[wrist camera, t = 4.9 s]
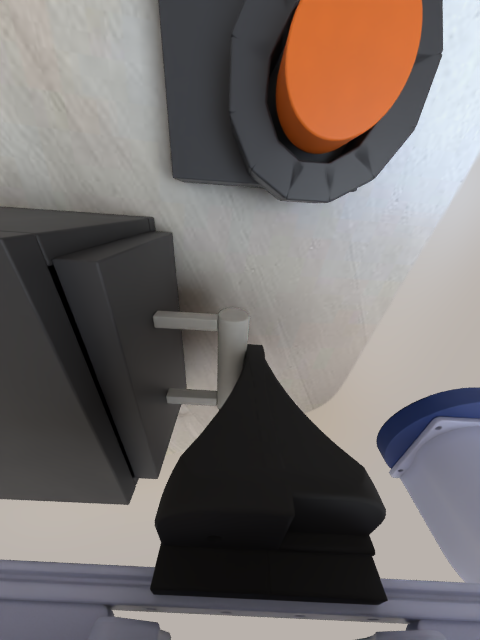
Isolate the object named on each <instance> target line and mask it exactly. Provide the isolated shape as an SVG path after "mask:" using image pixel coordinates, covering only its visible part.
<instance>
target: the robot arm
mask: <svg viewBox="0 0 480 640" xmlns="http://www.w3.org/2000/svg"><path fill="white" fill-rule="evenodd" d="M389 473H390V475H391V477H393V478H400V479H401V481H402V482H403V484H404V486H405V487H406V489H407V491H408V493H409V494H410V496H411V498H412V499H413V502H414V503H415V505H416V507H417V508H418V510H419V512H420V514H421V515H422V517H423V519H424V521H425V522H426V524H427V526H428V528H429V529H430V531H431V533H432V535H433V536H434V538H435V540H436V542H437V543H438V545H439V547H440V549H441V550H442V552H443V554H444V555H445V557H446V558H447V560H448V562H449V563H450V564H451V566H452V567H453V568H454V570H455V571H456V572H457V573H458V575H459V576H460V577H461V578H462V579H463V580H464V581H465V583H460V582H459V583H458V582H439V581H420V580H400V579H399V580H398V579H380V577H379V574H378V571H377V569H376V566H375V563H374V560H373V558H372V556H374V555H375V549H374V547H373V544H372V541H371V539H370V536H369V534H370V533H372V532H373V531H374V530H375V529H376V528H377V527H378V526H379V525H380V524H381V523H382V521H383V520H384V519H385V516H386V509H385V507H384V505H383V503H382V501H381V498H380V496H379V494H378V492H377V490H376V488H375V486H374V484H373V482H372V480H371V479H370V477H369V476H368V474H367V472H366V470H365V468H364V467H363V466H362V465H360V464H359V463H358V462H357V461H356V460H354V459H353V458H352V457H351V456H349V455H348V454H347V453H346V452H344V451H343V450H342V449H341V448H340V447H338V446H337V445H336V444H335V443H334V442H333V441H331V440H330V439H329V438H328V437H327V436H326V435H325V434H324V433H323V432H322V431H321V430H320V429H319V428H318V427H317V426H316V425H315V424H314V423H313V422H312V421H311V420H310V419H309V418H308V417H307V416H306V415H305V414H304V413H303V412H302V411H301V410H300V408H299V407H298V406H297V405H296V404H295V403H294V401H293V400H292V399H291V398H290V396H289V395H288V394H287V393H286V391H285V390H284V389H283V387H282V386H281V384H280V383H279V381H278V380H277V378H276V377H275V375H274V374H273V372H272V370H271V369H270V367H269V365H268V364H267V362H266V360H265V353H264V349H263V346H262V345H251V344H247V350H246V360H245V364H244V367H243V369H242V372H241V374H240V376H239V378H238V380H237V382H236V384H235V386H234V388H233V390H232V391H231V393H230V395H229V396H228V398H227V400H226V401H225V403H224V404H223V406H222V407H221V409H220V410H219V412H218V413H217V414H216V416H215V417H214V418H213V419H212V421H211V422H210V423H209V425H208V426H207V427H206V428H205V430H204V431H203V432H202V433H201V434H200V436H199V437H198V438H197V439H196V440H195V441H194V442H193V443H192V444H191V445H190V447H189V448H188V449H187V450H186V451H185V452H184V453H183V454H182V455H181V457H180V458H179V460H178V462H177V464H176V466H175V468H174V469H173V471H172V474H171V476H170V478H169V480H168V482H167V484H166V486H165V489H164V492H163V494H162V497H161V501H160V504H159V507H158V511H157V514H156V518H155V527H156V530H157V532H158V535H159V538H160V540H161V546H160V550H159V554H158V558H157V562H156V566H155V567H138V566H118V565H98V564H78V563H57V562H38V561H17V560H0V640H171V636H170V633H168V632H165V631H163V630H160V627H159V624H158V623H157V622H149V621H142V620H135V619H127V618H120V617H114V614H113V611H112V610H125V611H146V612H167V613H189V614H210V615H232V616H254V617H275V618H296V619H317V620H339V621H360V622H381V623H403V624H408V625H407V628H406V631H387V632H376V633H375V634H374V635H373V636H370V637H367V638H363V639H357V640H480V419H476V418H457V417H436V418H434V419H433V420H432V421H431V422H430V423H429V424H428V426H427V427H426V428H425V429H424V430H423V432H422V433H421V434H420V435H419V436H418V438H417V439H416V440H415V441H414V442H413V444H412V445H411V446H410V447H409V448H408V450H407V451H406V452H405V453H404V454H403V456H402V457H401V458H400V459H399V460H398V462H397V463H396V464H395V465H394V466H393V468H392V469H391V470H390V472H389Z"/></svg>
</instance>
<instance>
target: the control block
mask: <svg viewBox="0 0 480 640" xmlns="http://www.w3.org/2000/svg"><path fill="white" fill-rule="evenodd" d="M158 1H159V13H160V25H161V38H162V50H163V62H164V74H165V87H166V99H167V111H168V123H169V136H170V148H171V160H172V172H173V178H175V179H178V180H180V181H183V182H190V183H204V184H218V185H231V186H245V187H259V188H265V189H266V190H267V191H268V192H270V193H271V194H272V195H273V196H274V197H276V198H277V199H279V200H280V201H292V202H306V203H328V202H331V201H333V200H335V199H337V198H339V197H341V196H343V195H345V194H347V193H349V192H354V191H356V190H357V188H358V187H360V186H362V185H364V184H366V183H368V182H370V181H372V180H373V179H374V178H375V177H376V176H377V175H378V174H379V173H380V171H381V170H382V169H383V168H384V167H385V165H386V164H387V163H388V162H389V160H390V159H391V158H392V157H393V156H394V154H395V153H396V152H397V151H398V149H399V148H400V147H401V146H402V145H403V143H404V142H405V141H406V140H407V138H408V137H409V136H410V135H411V134H412V132H413V131H414V130H415V127H416V126H417V123H418V120H419V117H420V115H421V112H422V109H423V106H424V104H425V101H426V98H427V95H428V93H429V90H430V87H431V84H432V82H433V79H434V76H435V73H436V71H437V68H438V65H439V62H440V60H441V57H442V54H441V53H442V51H443V10H442V0H422V8H423V12H422V30H421V38H420V43H419V48H418V52H417V55H416V59H415V62H414V65H413V68H412V70H411V73H410V75H409V77H408V80H407V82H406V84H405V86H404V88H403V90H402V91H401V93H400V95H399V97H398V98H397V100H396V101H395V103H394V104H393V105H392V107H391V108H390V109H389V111H388V112H387V113H386V114H385V115H384V116H383V117H382V118H381V119H380V120H379V121H378V122H377V123H376V124H375V125H374V126H373V127H371V128H370V129H369V130H367V131H366V132H364V133H363V134H361V135H359V136H358V137H356V138H354V139H353V140H351V141H349V142H348V143H346V144H344V145H343V146H341V147H339V148H338V149H335V150H333V151H331V152H328V153H323V154H312V153H307V152H304V151H302V150H300V149H299V148H297V147H296V146H295V145H293V144H292V143H291V141H290V140H289V139H288V138H287V136H286V135H285V133H284V131H283V129H282V127H281V124H280V122H279V118H278V114H277V108H276V83H277V76H278V72H279V68H280V64H281V60H282V56H283V52H284V49H285V45H286V41H287V37H288V33H289V29H290V26H291V22H292V19H293V16H294V14H295V11H296V8H297V6H298V4H299V2H300V0H158Z"/></svg>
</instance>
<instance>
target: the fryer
mask: <svg viewBox="0 0 480 640" xmlns="http://www.w3.org/2000/svg"><path fill="white" fill-rule="evenodd" d="M149 231H155V232H156V230H155V222H154V218H153V217H143V216H128V215H114V214H100V213H85V212H71V211H57V210H43V209H28V208H14V207H0V499H14V500H36V501H58V502H79V503H80V502H81V503H101V504H124V505H128V504H129V503H130V500H131V498H132V495H133V493H134V490H135V487H136V486H135V485H136V484H137V481H138V479H139V478H136V477H135V475H134V472H133V470H132V467H131V465H130V462H129V459H128V457H127V454H126V452H125V449H124V446H123V444H122V441H121V443H120V445H119V443H118V441H117V438H116V436H115V433H114V431H113V428H112V426H111V423H110V421H109V418H108V416H107V413H106V411H105V408H104V406H103V403H102V401H101V398H100V396H99V393H98V391H97V388H96V386H95V383H94V381H93V378H92V376H91V373H90V371H89V368H88V366H87V363H86V361H85V358H84V356H83V353H82V351H81V348H80V346H79V343H78V341H77V338H76V336H75V333H74V331H73V328H72V326H71V323H70V321H69V319H68V316H67V314H66V311H65V309H64V306H63V304H62V301H61V299H60V296H59V294H58V291H57V289H56V286H55V284H54V281H53V279H52V276H51V274H50V271H49V269H48V266H51V265H53V262H52V259H53V258H56V257H60V256H63V255H67V254H70V253H74V252H78V251H81V250H85V249H88V248H92V247H96V246H99V245H103V244H106V243H110V242H113V241H117V240H121V239H124V238H128V237H131V236H135V235H138V234H142V233H146V232H149Z"/></svg>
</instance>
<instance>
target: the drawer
mask: <svg viewBox="0 0 480 640" xmlns="http://www.w3.org/2000/svg"><path fill="white" fill-rule="evenodd" d="M52 262H53V265H51V266H48V269H49V271H50V274H51V276H52V279H53V281H54V284H55V286H56V289H57V291H58V294H59V296H60V299H61V301H62V304H63V306H64V309H65V311H66V314H67V316H68V319H69V321H70V323H71V326H72V328H73V331H74V333H75V336H76V338H77V341H78V343H79V346H80V348H81V351H82V353H83V356H84V358H85V361H86V363H87V366H88V368H89V371H90V373H91V376H92V378H93V381H94V383H95V386H96V388H97V391H98V393H99V396H100V398H101V401H102V403H103V406H104V408H105V411H106V413H107V416H108V418H109V421H110V423H111V426H112V428H113V431H114V433H115V436H116V438H117V441H118V443H119V445H120V443H121V441H122V444H123V446H124V449H125V452H126V454H127V457H128V459H129V462H130V465H131V467H132V470H133V472H134V475H135V477H136V478H148V479H158V477H159V474H160V470H161V467H162V464H163V461H164V457H165V454H166V451H167V448H168V445H169V442H170V438H171V435H172V432H173V429H174V426H175V423H176V419H177V416H178V413H179V410H180V407H181V404H191V405H209V406H216V405H217V407H218V409H219V410H220V409H221V407H222V406H223V404H224V403H225V401H226V400H227V398H228V396H229V395H230V393H231V391H232V390H233V388H234V386H235V384H236V382H237V380H238V378H239V376H240V374H241V372H242V369H243V367H244V364H245V360H246V350H247V342H248V332H249V322H250V314H249V313H248V312H247V311H246V310H244V309H241V308H225V309H223V310H221V311H220V312H219V314H206V313H190V312H180V311H179V300H178V289H177V279H176V268H175V257H174V247H173V236H172V233H170V232H155V231H149V232H146V233H142V234H138V235H135V236H131V237H128V238H124V239H121V240H117V241H113V242H110V243H106V244H103V245H99V246H96V247H92V248H88V249H85V250H81V251H78V252H74V253H70V254H67V255H63V256H60V257H56V258H53V259H52ZM181 329H186V330H203V331H217V330H218V379H217V391H210V390H192V389H186V387H187V386H186V375H185V364H184V354H183V343H182V332H181Z"/></svg>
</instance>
